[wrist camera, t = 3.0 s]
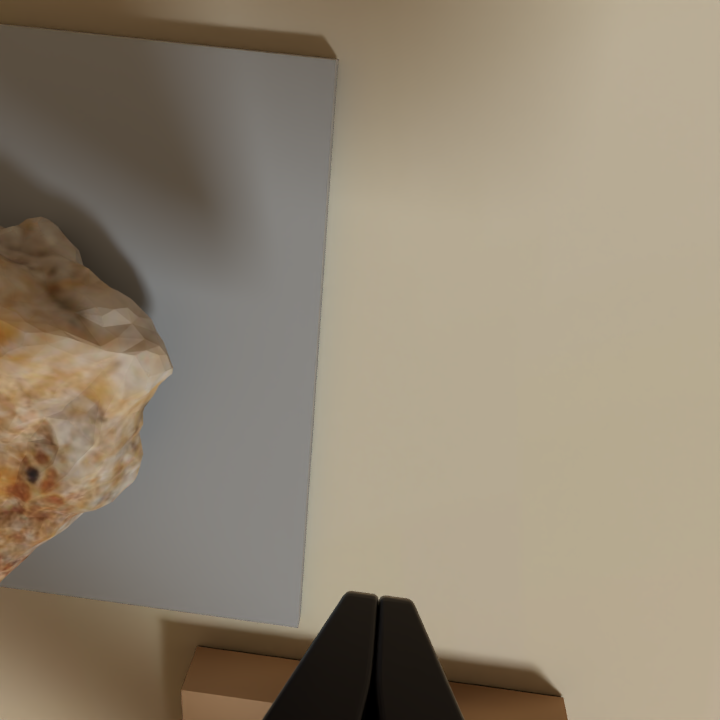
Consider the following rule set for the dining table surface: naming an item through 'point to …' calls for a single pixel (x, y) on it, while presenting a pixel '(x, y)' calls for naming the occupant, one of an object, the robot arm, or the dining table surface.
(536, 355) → the dining table surface
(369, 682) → the robot arm
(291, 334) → the card
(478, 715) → the brown square frame
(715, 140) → the dining table surface
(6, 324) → the rock
